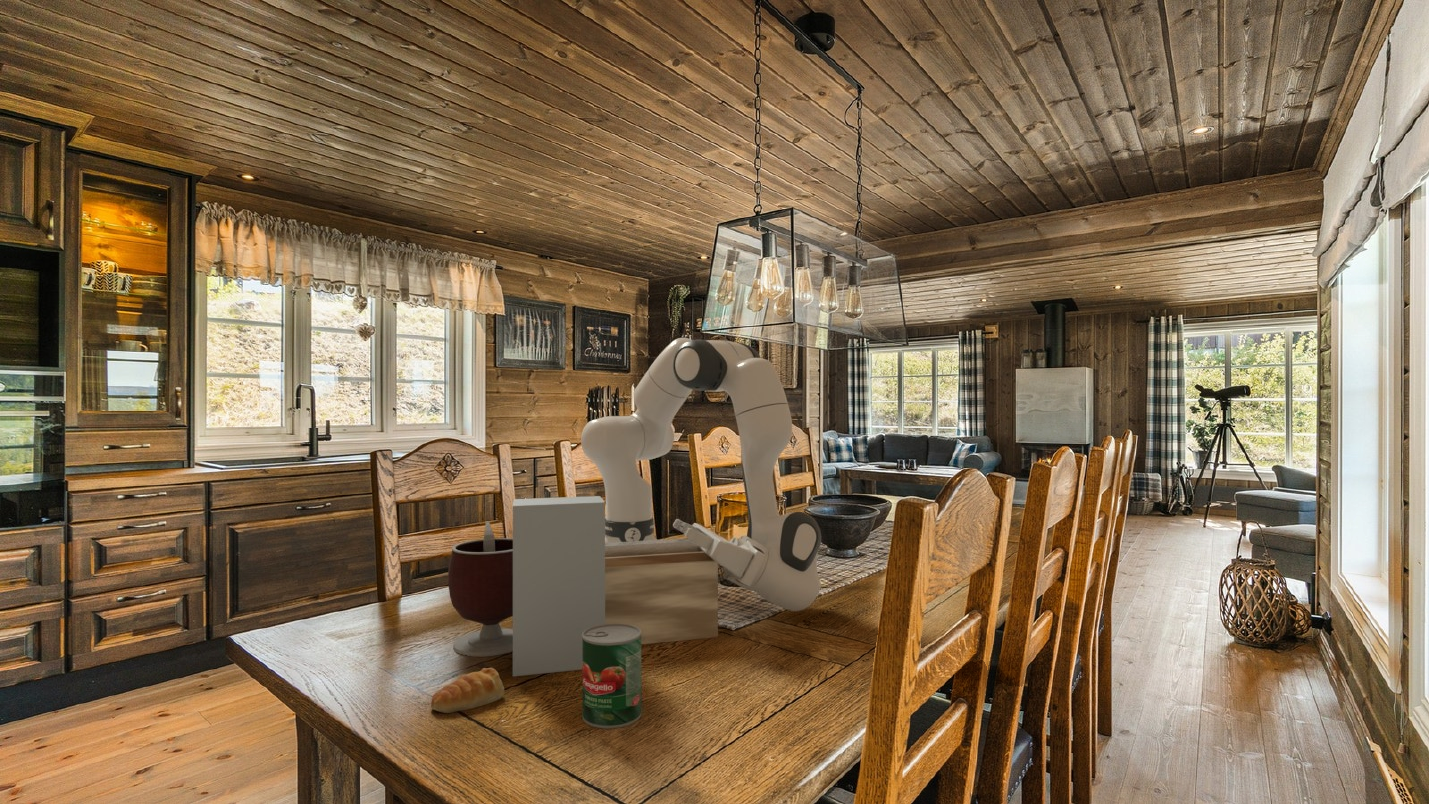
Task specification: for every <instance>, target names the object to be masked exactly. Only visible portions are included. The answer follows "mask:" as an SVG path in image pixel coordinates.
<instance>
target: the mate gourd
mask: <svg viewBox="0 0 1429 804" xmlns="http://www.w3.org/2000/svg"><path fill="white" fill-rule="evenodd" d="M484 524H485V525H484V526H485V527H484V533H483V538H482V539H475V540H468V541H463V542H460V543H457V544H454V545H453V546H452V547H451V554H450V556H449V557H450V558H449V562H448V563H449V564H448V569H447V577H448V580H447V585H448V592H449V598H450V601H451V605H452V607H453V608H454V610H455V611H456V612H457V614H458V615H459V616H461V618H462V619H464V620H466V621H467V620H468V621H472V622H475V623H479V624H482V628H481V629H480V630H477V631H472V632H469V633H465V634H463V635H462V636H460V637H457V638H456V639H455V640H454V642H453V644H452V647H453V651H454V652H455V653H456V652H457V654H458V653H459V654H458V655H461V654H463V655H462V656H465V655H467V656H466V657H478V658H479V657H491V656H499V655H503V654H508V653H511V652H512V653H513V628H504V627H503V628H501V625H500V623H501V622H503V621H505V620H507V619H508V618H509V619H510V618H511V617H512V618H513V537H512V538H510V537H509V538H508V537H507V538H506V537H500V538H496V537H495V535H494V532H493V528H492V525H491V523H490V521H489V520H486V521H485V523H484Z"/></svg>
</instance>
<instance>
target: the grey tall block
mask: <svg viewBox="0 0 1429 804" xmlns="http://www.w3.org/2000/svg"><path fill="white" fill-rule="evenodd" d="M605 519H606V501H605V500H604V499H603V498H602V497H601V496H600V495H590V496H567V497H566V496H565V497H541V498H540V497H539V498H537V497H535V498H534V497H533V498H532V497H531V498H514V499H513V503H512V539H513V616H512V629H513V651H512V677H523V676H532V675H542V674H551V673H561V672H569V671H570V672H571V671H578V670H579V671H580V670H583V669H582V665H583V664H582V633H583V632H584V631H585V630H586V629H588V628H590V627H593V626H597V625H602V624H605Z"/></svg>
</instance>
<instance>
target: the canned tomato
mask: <svg viewBox="0 0 1429 804" xmlns="http://www.w3.org/2000/svg"><path fill="white" fill-rule="evenodd" d="M641 634H642V633H641V630H640V629H639V628H638V627H636V626H633V625H629V624H620V623H612V624H602V625H597V626H593V627H590V628H588V629H586V630H585V631H584V632H583V633H582V664H583V665H582V669H581V670H582V671H581V673H582V678H581V679H582V680H581V681H582V683H581V684H582V696H581V697H582V716H581V718H582V721H583V722H584V724H587V725H588V726H590V727H592V728H597V729H606V730H607V729H609V730H611V729H619V728H624V727H628V726H630V725H632V724H634V723H636V722H637V721H639V720H640V719H641V717H642V715H643V710H642V695H643V693H642V682H643V681H642V644H641Z"/></svg>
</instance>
